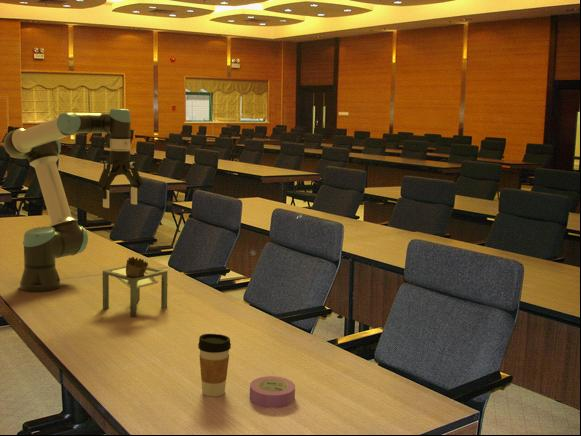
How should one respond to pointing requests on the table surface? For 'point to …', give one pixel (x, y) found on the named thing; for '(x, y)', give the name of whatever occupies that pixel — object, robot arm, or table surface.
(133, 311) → the trapdoor frame
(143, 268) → the dark piece
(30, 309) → the table surface
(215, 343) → the coffee cup
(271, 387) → the masking tape
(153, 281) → the trapdoor
